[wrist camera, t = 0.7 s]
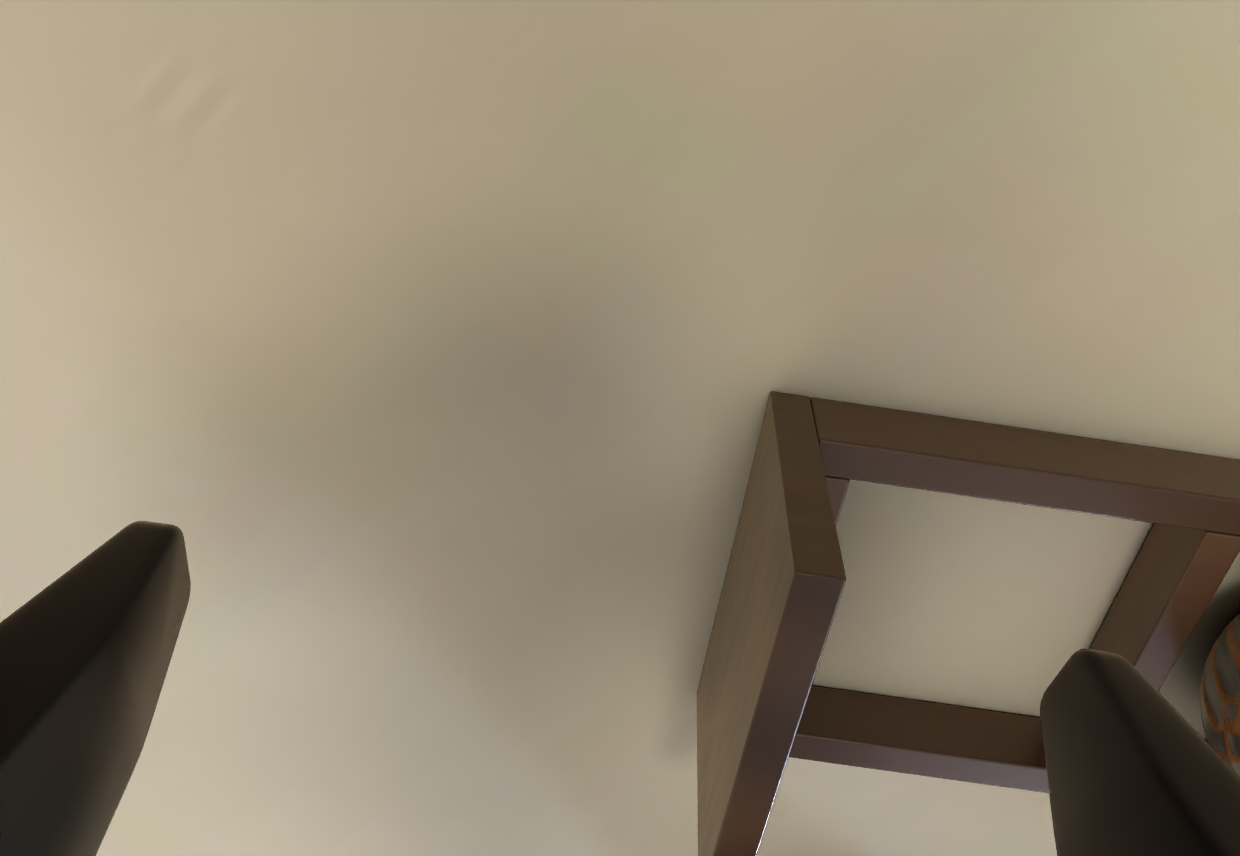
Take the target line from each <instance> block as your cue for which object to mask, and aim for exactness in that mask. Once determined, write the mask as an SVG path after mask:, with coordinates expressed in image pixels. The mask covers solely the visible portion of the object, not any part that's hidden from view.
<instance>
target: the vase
mask: <svg viewBox="0 0 1240 856" xmlns="http://www.w3.org/2000/svg"><path fill="white" fill-rule="evenodd" d="M1200 706H1201V715H1202V722H1203V728H1204V732H1205V736H1206V740H1207V743H1208V744H1209V745H1210V746H1211V747H1212V748H1213V749H1214V750H1215V751H1216V753H1217V754H1218V755H1219V756H1220V757H1221V758H1222V759H1223V760H1224V761H1225V762H1226V763H1227V764H1228V765H1229V766H1230V767H1231V768H1232V769H1233V770H1234V771H1235V772H1236V773H1237V774H1238V775H1239V776H1240V613H1239V614H1238V615H1237V616H1236V617H1235V618H1234V619H1233V620H1232V621H1231V622H1230V623H1229V624H1228V625H1227V626H1226V628H1225V629H1224V630H1223V632H1222V633H1221V634H1220V636H1219V637H1218V638H1217V640H1216V642H1215V643H1214V645H1213V647H1212V649H1211V651H1210V653H1209V656H1208V658H1207V661H1206V664H1205V666H1204V670H1203V673H1202V678H1201V692H1200Z"/></svg>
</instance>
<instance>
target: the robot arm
mask: <svg viewBox="0 0 1240 856" xmlns="http://www.w3.org/2000/svg"><path fill="white" fill-rule="evenodd" d="M190 585H191V583H190V575H189V568H188V562H187V555H186V549H185V542H184V536H183V533H182V531H181V530H180V528H179V527H177V526H174V525H170V524H162V523H155V522H148V521H137V522H134V523H132V524H130V525H128V526H127V527H125V528H124V529H123V530H121V531H120V532H119V533H117V534H116V535H115V536H113V537H112V538H111V539H110V540H108V541H107V542H106V543H104V544H103V545H102V546H100V547H99V548H98V549H96V550H95V551H94V552H92V553H91V554H90V555H89V556H87V557H86V558H85V559H83V560H82V561H81V562H79V563H78V564H77V565H75V566H74V567H73V568H72V569H70V570H69V571H68V572H66V573H65V574H64V575H62V576H61V577H60V578H58V579H57V580H56V581H54V582H53V583H52V584H51V585H49V586H48V587H47V588H45V589H44V590H43V591H41V592H40V593H39V594H37V595H36V596H35V597H33V598H32V599H31V600H30V601H28V602H27V603H26V604H24V605H23V606H22V607H20V608H19V609H18V610H16V611H15V612H14V613H12V614H11V615H10V616H9V617H7V618H6V619H5V620H3V621H2V622H1V623H0V856H96V854H97V851H98V849H99V847H100V845H101V842H102V840H103V838H104V836H105V834H106V831H107V829H108V827H109V825H110V822H111V820H112V818H113V816H114V813H115V811H116V809H117V807H118V804H119V802H120V800H121V798H122V795H123V793H124V791H125V789H126V786H127V784H128V782H129V780H130V777H131V775H132V773H133V770H134V768H135V766H136V763H137V761H138V758H139V756H140V753H141V751H142V748H143V745H144V742H145V739H146V736H147V733H148V730H149V727H150V724H151V721H152V718H153V715H154V712H155V708H156V705H157V702H158V699H159V696H160V692H161V689H162V686H163V683H164V679H165V676H166V673H167V670H168V667H169V663H170V660H171V657H172V654H173V651H174V647H175V644H176V641H177V638H178V634H179V631H180V628H181V625H182V622H183V618H184V615H185V612H186V609H187V605H188V601H189V596H190ZM1040 720H1041V728H1042V737H1043V745H1044V753H1045V762H1046V770H1047V778H1048V787H1049V795H1050V803H1051V812H1052V820H1053V829H1054V836H1055V842H1056V849H1057V856H1240V776H1239V775H1238V774H1237V773H1236V772H1235V771H1234V770H1233V769H1232V768H1231V767H1230V766H1229V765H1228V764H1227V763H1226V762H1225V761H1224V760H1223V759H1222V758H1221V757H1220V756H1219V755H1218V754H1217V753H1216V751H1215V750H1214V749H1213V748H1212V747H1211V746H1210V745H1209V744H1208V743H1207V742H1206V741H1205V740H1204V739H1203V738H1202V737H1201V736H1200V735H1199V734H1198V733H1197V732H1196V731H1195V730H1194V729H1193V728H1192V727H1191V726H1190V725H1189V723H1188V722H1187V721H1186V720H1185V719H1184V718H1183V717H1182V716H1181V715H1180V714H1179V713H1178V712H1177V711H1176V710H1175V709H1174V708H1173V707H1172V706H1171V705H1170V704H1169V703H1168V702H1167V701H1166V700H1165V699H1164V698H1163V696H1162V695H1161V694H1160V693H1159V692H1158V691H1157V690H1156V689H1155V688H1154V687H1153V686H1152V685H1151V684H1150V683H1149V682H1148V681H1147V680H1146V679H1145V678H1144V677H1143V676H1142V675H1141V674H1140V673H1139V672H1138V671H1137V670H1136V668H1135V667H1134V666H1133V665H1132V664H1131V663H1130V662H1129V661H1128V660H1126V659H1125V658H1124V657H1123V656H1121V655H1119V654H1117V653H1113V652H1107V651H1099V650H1092V649H1081V650H1079V651H1077V652H1075V653H1074V654H1073V655H1072V656H1071V658H1070V659H1069V660H1068V662H1067V663H1066V664H1065V665H1064V667H1063V668H1062V669H1061V671H1060V672H1059V673H1058V675H1057V676H1056V677H1055V679H1054V680H1053V681H1052V683H1051V684H1050V685H1049V687H1048V688H1047V689H1046V691H1045V693H1044V695H1043V698H1042V701H1041V706H1040Z"/></svg>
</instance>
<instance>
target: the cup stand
mask: <svg viewBox="0 0 1240 856" xmlns="http://www.w3.org/2000/svg"><path fill="white" fill-rule="evenodd" d="M849 479H852V480H859V481H866V482H873V483H880V484H887V485H894V486H900V487H907V488H914V489H921V490H928V491H935V492H942V493H949V494H956V495H963V496H969V497H976V498H983V499H990V500H997V501H1004V502H1011V503H1018V504H1025V505H1032V506H1039V507H1045V508H1052V509H1059V510H1066V511H1073V512H1080V513H1087V514H1094V515H1101V516H1108V517H1114V518H1121V519H1128V520H1135V521H1142V522H1149V523H1154V525H1153V527H1152V529H1151V531H1150V533H1149V535H1148V537H1147V539H1146V541H1145V542H1144V544H1143V546H1142V548H1141V550H1140V552H1139V554H1138V556H1137V558H1136V560H1135V562H1134V564H1133V566H1132V568H1131V570H1130V572H1129V574H1128V576H1127V578H1126V580H1125V581H1124V583H1123V585H1122V587H1121V589H1120V591H1119V593H1118V595H1117V597H1116V599H1115V601H1114V603H1113V605H1112V607H1111V609H1110V611H1109V613H1108V615H1107V617H1106V619H1105V621H1104V622H1103V624H1102V626H1101V628H1100V630H1099V632H1098V634H1097V636H1096V638H1095V640H1094V642H1093V644H1092V646H1091V648H1090V649H1092V650H1099V651H1107V652H1113V653H1117V654H1119V655H1121V656H1123V657H1124V658H1125V659H1126V660H1128V661H1129V662H1130V663H1131V664H1132V665H1133V666H1134V667H1135V668H1136V670H1137V671H1138V672H1139V673H1140V674H1141V675H1142V676H1143V677H1144V678H1145V679H1146V680H1147V681H1148V682H1149V683H1150V684H1151V685H1152V686H1153V687H1154V688H1155V689H1156V690H1157V691H1159V689H1160V688H1161V686H1162V684H1163V682H1164V681H1165V679H1166V677H1167V675H1168V674H1169V672H1170V670H1171V668H1172V667H1173V665H1174V663H1175V662H1176V660H1177V658H1178V656H1179V655H1180V653H1181V651H1182V649H1183V648H1184V646H1185V644H1186V643H1187V641H1188V639H1189V637H1190V636H1191V634H1192V632H1193V630H1194V629H1195V627H1196V625H1197V623H1198V622H1199V620H1200V618H1201V617H1202V615H1203V613H1204V611H1205V610H1206V608H1207V606H1208V604H1209V603H1210V601H1211V599H1212V598H1213V596H1214V594H1215V592H1216V591H1217V589H1218V587H1219V585H1220V584H1221V582H1222V580H1223V578H1224V577H1225V575H1226V573H1227V572H1228V570H1229V568H1230V566H1231V565H1232V563H1233V561H1234V559H1235V558H1236V556H1237V554H1238V553H1239V551H1240V460H1233V459H1227V458H1220V457H1213V456H1206V455H1199V454H1192V453H1186V452H1179V451H1172V450H1165V449H1158V448H1151V447H1145V446H1138V445H1131V444H1124V443H1117V442H1110V441H1104V440H1097V439H1090V438H1083V437H1076V436H1069V435H1063V434H1056V433H1049V432H1042V431H1035V430H1028V429H1022V428H1015V427H1008V426H1001V425H994V424H987V423H981V422H974V421H967V420H960V419H953V418H946V417H940V416H933V415H926V414H919V413H912V412H905V411H899V410H892V409H885V408H878V407H871V406H864V405H858V404H851V403H844V402H837V401H830V400H823V399H817V398H811V399H810V398H809V397H805V396H798V395H792V394H785V393H778V392H771V393H770V395H769V399H768V404H767V408H766V412H765V416H764V420H763V424H762V428H761V432H760V436H759V440H758V445H757V449H756V453H755V457H754V461H753V465H752V469H751V473H750V477H749V481H748V486H747V490H746V494H745V498H744V502H743V506H742V510H741V514H740V518H739V522H738V527H737V531H736V535H735V539H734V543H733V547H732V551H731V555H730V559H729V563H728V568H727V572H726V576H725V580H724V584H723V588H722V592H721V596H720V600H719V604H718V609H717V613H716V617H715V621H714V625H713V629H712V633H711V637H710V641H709V645H708V650H707V654H706V658H705V662H704V666H703V670H702V674H701V678H700V682H699V686H698V691H697V779H698V856H756V855H757V852H758V849H759V846H760V843H761V840H762V837H763V834H764V831H765V827H766V824H767V821H768V818H769V815H770V812H771V809H772V806H773V803H774V800H775V797H776V794H777V791H778V788H779V784H780V781H781V778H782V775H783V772H784V769H785V766H786V763H787V760H788V757H792V758H799V759H807V760H814V761H821V762H828V763H835V764H842V765H850V766H857V767H864V768H871V769H878V770H886V771H893V772H900V773H907V774H914V775H922V776H929V777H936V778H943V779H950V780H958V781H965V782H972V783H979V784H986V785H993V786H1001V787H1008V788H1015V789H1022V790H1029V791H1037V792H1044V793H1049V787H1048V778H1047V770H1046V762H1045V753H1044V745H1043V737H1042V728H1041V720H1040V718H1038V717H1030V716H1023V715H1016V714H1009V713H1002V712H995V711H988V710H981V709H974V708H966V707H959V706H952V705H945V704H938V703H931V702H924V701H917V700H909V699H902V698H895V697H888V696H881V695H874V694H867V693H860V692H853V691H845V690H838V689H831V688H824V687H817V686H812V683H813V680H814V677H815V674H816V671H817V668H818V665H819V662H820V658H821V655H822V652H823V649H824V646H825V643H826V640H827V637H828V634H829V631H830V628H831V625H832V622H833V619H834V615H835V612H836V609H837V606H838V603H839V600H840V597H841V594H842V591H843V588H844V585H845V582H846V576H845V571H844V566H843V561H842V556H841V551H840V546H839V541H838V537H837V532H836V524H837V521H838V518H839V514H840V511H841V508H842V504H843V501H844V498H845V495H846V491H847V488H848V485H849V482H850V481H849ZM1206 742H1207V741H1206Z"/></svg>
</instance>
